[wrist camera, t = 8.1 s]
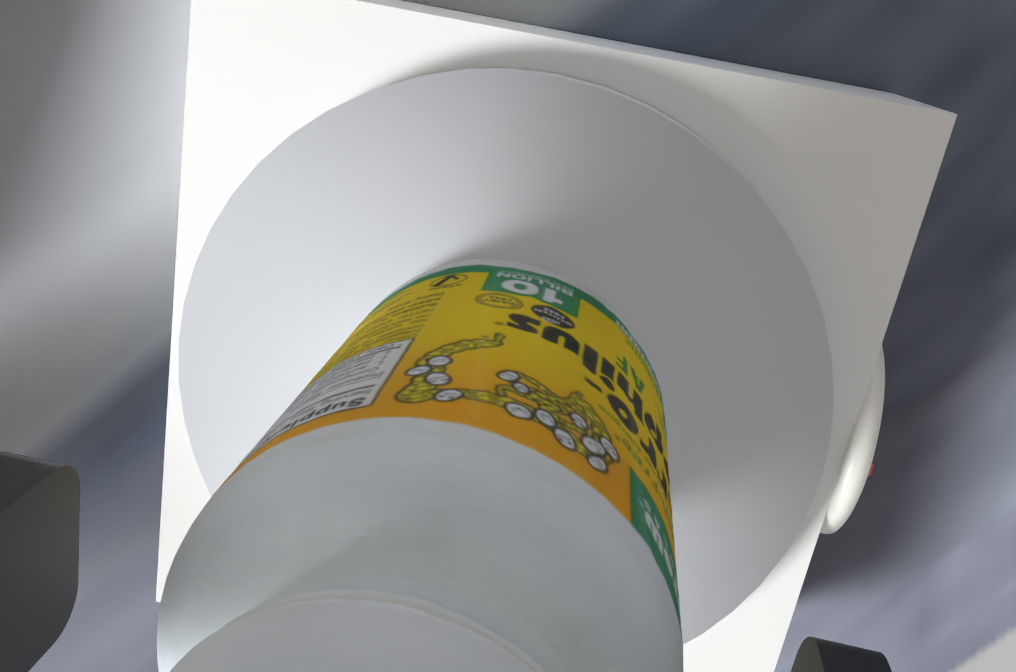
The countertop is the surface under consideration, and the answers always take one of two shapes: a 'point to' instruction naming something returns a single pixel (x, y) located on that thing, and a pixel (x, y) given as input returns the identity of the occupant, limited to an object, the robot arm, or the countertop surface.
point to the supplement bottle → (447, 499)
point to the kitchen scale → (555, 252)
